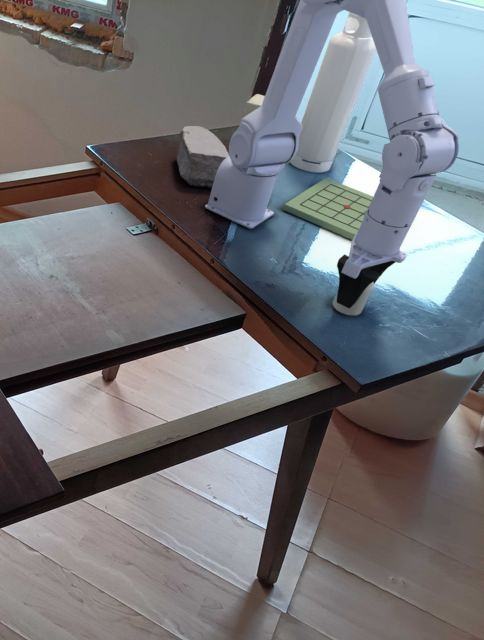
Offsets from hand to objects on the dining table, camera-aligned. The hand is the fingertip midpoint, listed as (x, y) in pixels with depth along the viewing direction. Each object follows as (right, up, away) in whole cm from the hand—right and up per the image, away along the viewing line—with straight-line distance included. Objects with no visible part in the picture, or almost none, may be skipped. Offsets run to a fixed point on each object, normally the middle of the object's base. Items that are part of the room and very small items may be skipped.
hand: (350, 298), depth 100 cm
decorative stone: (-15, +26, +31) cm, 43 cm away
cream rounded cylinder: (0, -1, +1) cm, 2 cm away
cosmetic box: (-4, +30, +37) cm, 48 cm away
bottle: (+10, +30, +38) cm, 49 cm away
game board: (+10, +17, +23) cm, 30 cm away
